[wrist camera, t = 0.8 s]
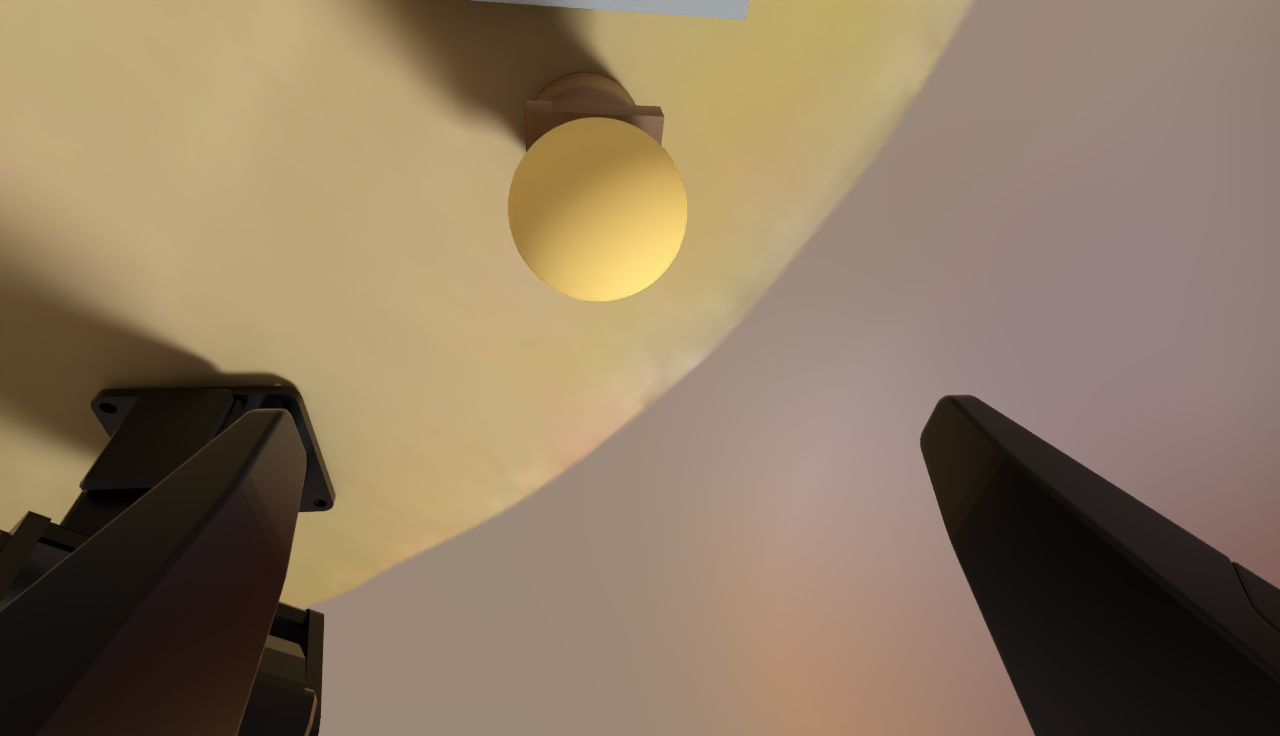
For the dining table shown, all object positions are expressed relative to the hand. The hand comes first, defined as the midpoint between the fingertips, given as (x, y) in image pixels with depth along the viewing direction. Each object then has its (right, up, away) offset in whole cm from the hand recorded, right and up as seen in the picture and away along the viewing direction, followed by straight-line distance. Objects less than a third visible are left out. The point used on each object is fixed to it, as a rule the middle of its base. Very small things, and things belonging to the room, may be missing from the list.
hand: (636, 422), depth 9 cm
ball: (-1, +4, +5) cm, 7 cm away
